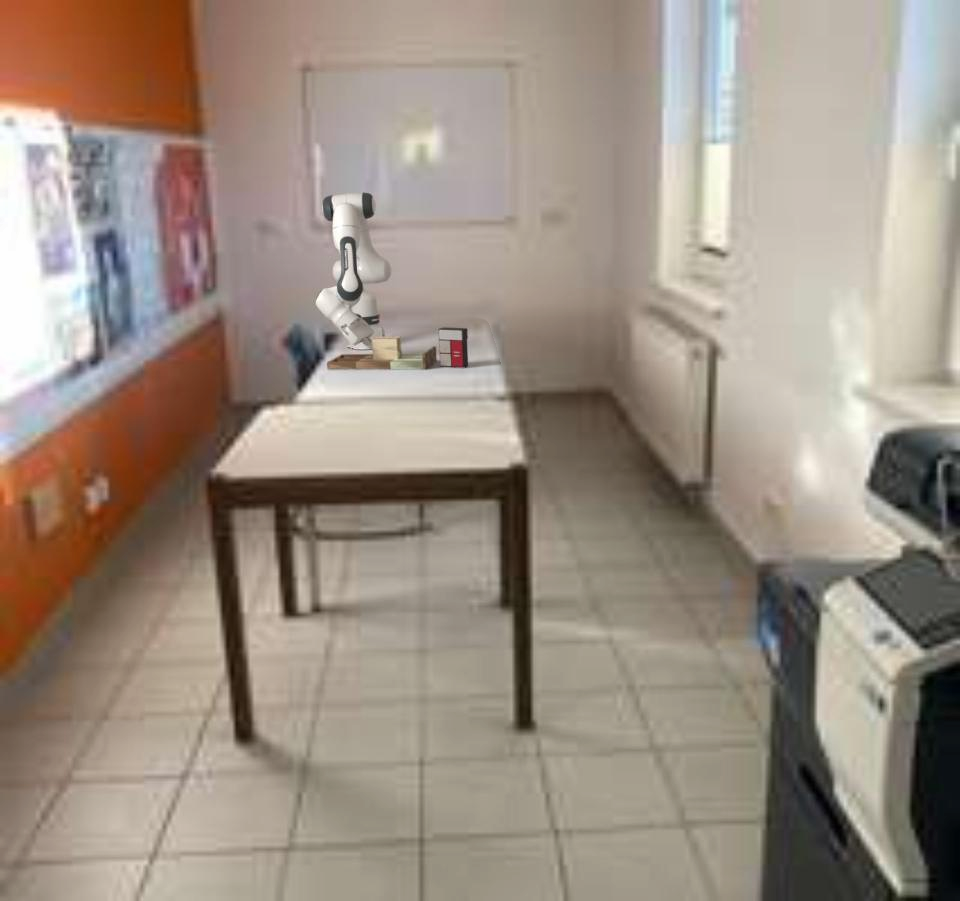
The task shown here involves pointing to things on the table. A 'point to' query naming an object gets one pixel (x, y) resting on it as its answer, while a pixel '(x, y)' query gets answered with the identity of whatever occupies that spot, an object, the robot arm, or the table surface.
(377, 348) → the block
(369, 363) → the box
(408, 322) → the table surface
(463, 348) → the toy cabinet
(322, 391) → the table surface
